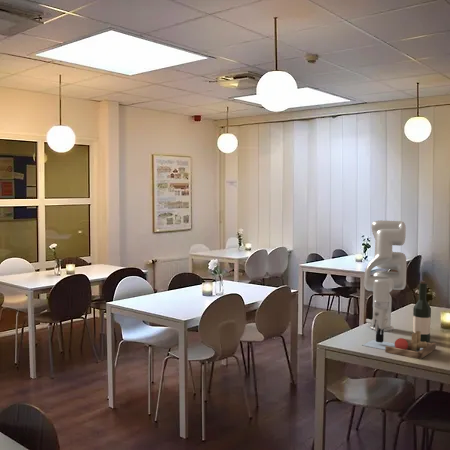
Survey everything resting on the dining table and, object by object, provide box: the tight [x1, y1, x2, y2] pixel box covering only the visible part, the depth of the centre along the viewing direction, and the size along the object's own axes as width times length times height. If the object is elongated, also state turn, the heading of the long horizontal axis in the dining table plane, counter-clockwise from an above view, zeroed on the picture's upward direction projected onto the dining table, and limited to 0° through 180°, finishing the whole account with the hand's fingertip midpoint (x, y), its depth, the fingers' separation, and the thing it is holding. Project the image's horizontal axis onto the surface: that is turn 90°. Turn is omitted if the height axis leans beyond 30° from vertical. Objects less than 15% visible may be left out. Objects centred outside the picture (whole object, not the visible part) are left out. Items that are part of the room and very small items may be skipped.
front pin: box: [407, 341, 427, 350], centre depth 254 cm, size 2×2×9 cm
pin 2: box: [415, 331, 421, 351], centre depth 256 cm, size 2×2×9 cm
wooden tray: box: [384, 337, 437, 360], centre depth 255 cm, size 16×21×3 cm
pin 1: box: [410, 332, 417, 352], centre depth 252 cm, size 2×2×9 cm
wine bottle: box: [412, 280, 432, 343], centre depth 273 cm, size 8×8×30 cm
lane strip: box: [362, 339, 423, 352], centre depth 260 cm, size 28×14×1 cm, turn 52°
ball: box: [394, 337, 408, 350], centre depth 254 cm, size 6×6×6 cm
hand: (379, 341), depth 265 cm, fingers closed
